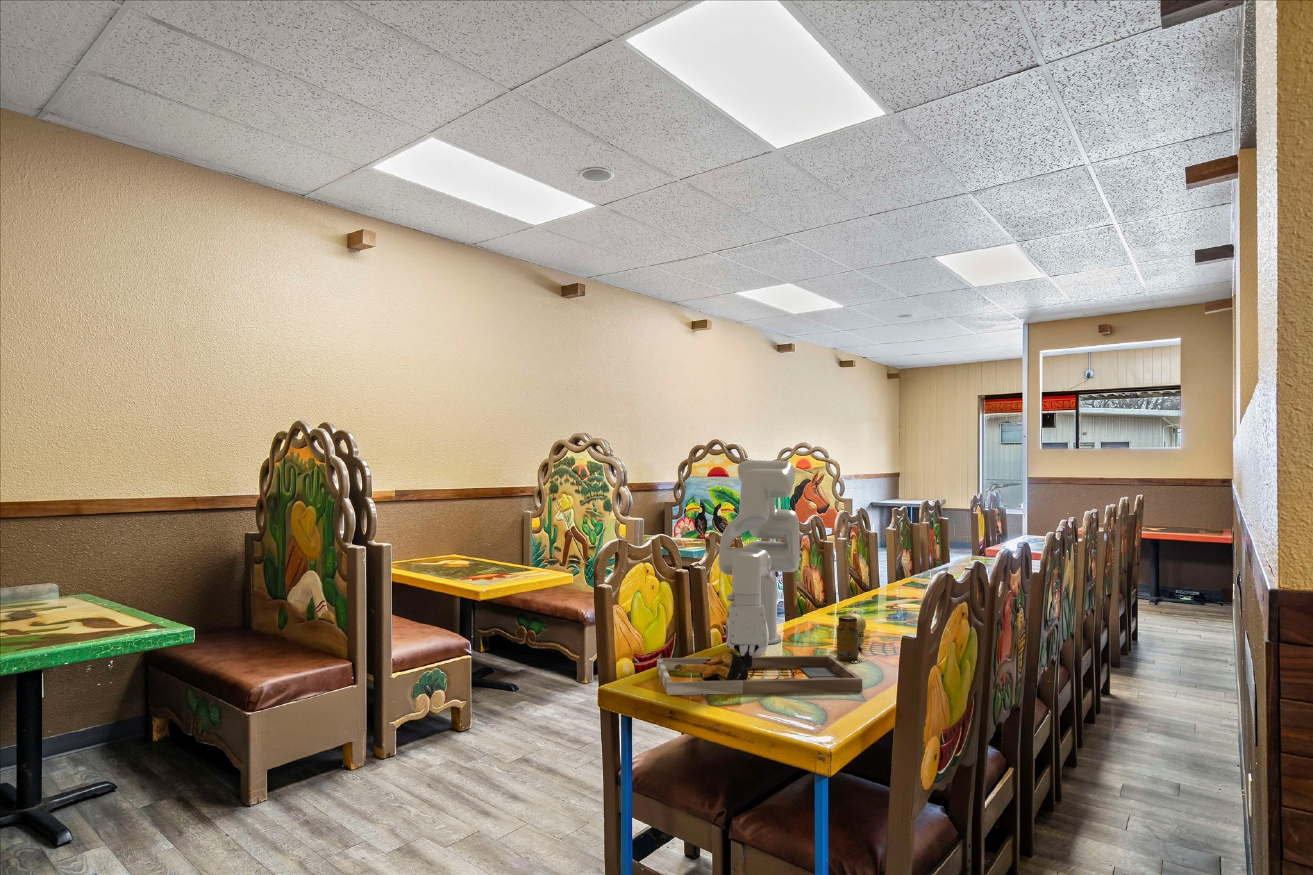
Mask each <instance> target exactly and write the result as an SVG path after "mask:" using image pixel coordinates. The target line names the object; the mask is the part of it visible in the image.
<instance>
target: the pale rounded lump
mask: <svg viewBox="0 0 1313 875" xmlns="http://www.w3.org/2000/svg"><path fill="white" fill-rule="evenodd" d="M843 616H853V617H855V618H857V627H858V647H860V646H862V645H864V643H865V633H866V632H865V630H866V627H867V622H866V620H865V618H864V617H863V616H862V615H860V614H858V613H857V610H855V611H852V612H847V613H845V614H844V615H843Z"/></svg>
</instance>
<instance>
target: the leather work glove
mask: <svg viewBox="0 0 1313 875" xmlns="http://www.w3.org/2000/svg"><path fill="white" fill-rule="evenodd" d="M715 657H716V658H711V659H708V660H706V661H704V662H702V664H701V665H700V664H697V665H695V664H683V665H680V664H678V665H676V666H674V670H673V671H676V672H681V673H687V674H688V673H689V674H691V673H697V674H699V677H700V678H701V679H702V681H731V680H748V677H749V671H748V670H749V667H747V666H746V665H745V663H744V661H743V660H742V659H741V658H740V655H737V654H735V652H734V650H733V649H731V650H729V651H728V652H726V653H725V654H723V655H722V656H715ZM718 657H719V658H718Z"/></svg>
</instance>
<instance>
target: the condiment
mask: <svg viewBox="0 0 1313 875" xmlns="http://www.w3.org/2000/svg"><path fill="white" fill-rule="evenodd" d="M837 623H838V625H837V627H836V655H834V656H833V655H832V657H834V658H835V659H836V660H838V661H844V662H848V663H852V664H858V663H863V662H867V661H869V658H865V657H861V656H859V646H858V627H857V618H855V617H853V616H844V615H840V616H839V617H838V622H837ZM852 661H853V662H852ZM855 661H857V662H855ZM859 661H860V662H859ZM861 661H862V662H861Z"/></svg>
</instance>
